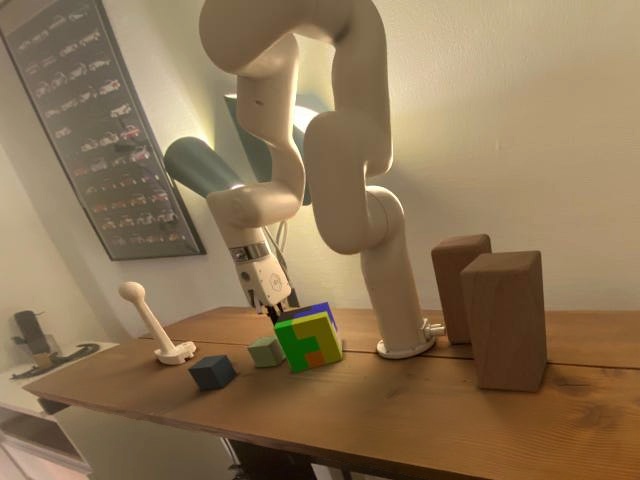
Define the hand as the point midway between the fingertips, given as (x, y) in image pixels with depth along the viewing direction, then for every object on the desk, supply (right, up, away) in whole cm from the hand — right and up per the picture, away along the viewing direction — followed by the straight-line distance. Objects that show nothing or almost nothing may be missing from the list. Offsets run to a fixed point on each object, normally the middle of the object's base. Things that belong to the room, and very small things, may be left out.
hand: (284, 329), depth 89 cm
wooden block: (+53, -10, -24) cm, 59 cm away
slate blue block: (-8, -12, -11) cm, 18 cm away
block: (+46, -2, -8) cm, 47 cm away
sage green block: (0, -7, -5) cm, 9 cm away
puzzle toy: (+11, -7, -6) cm, 14 cm away
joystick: (-29, -6, +5) cm, 30 cm away
